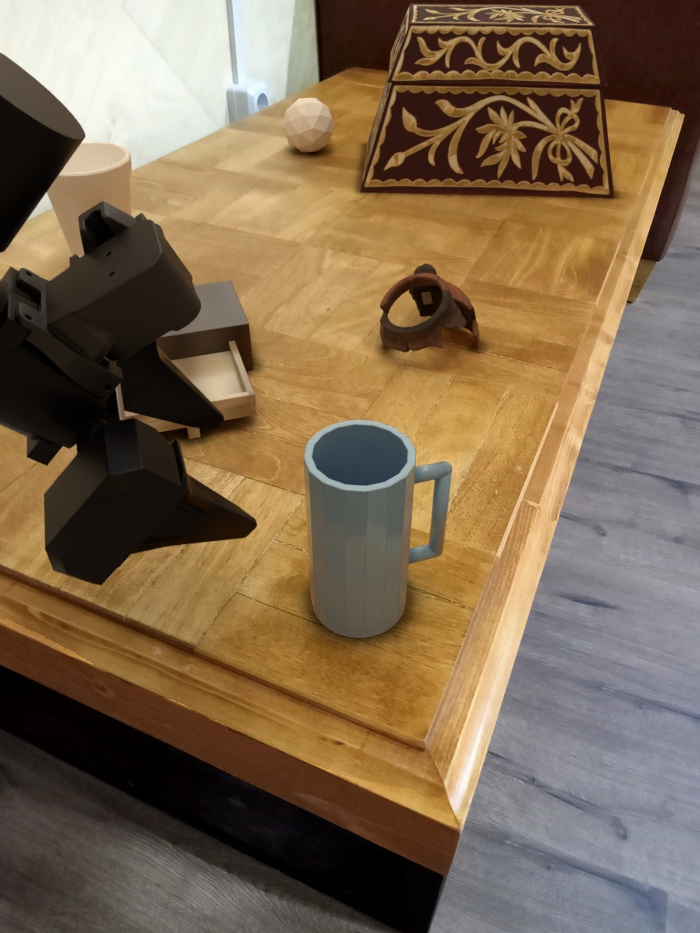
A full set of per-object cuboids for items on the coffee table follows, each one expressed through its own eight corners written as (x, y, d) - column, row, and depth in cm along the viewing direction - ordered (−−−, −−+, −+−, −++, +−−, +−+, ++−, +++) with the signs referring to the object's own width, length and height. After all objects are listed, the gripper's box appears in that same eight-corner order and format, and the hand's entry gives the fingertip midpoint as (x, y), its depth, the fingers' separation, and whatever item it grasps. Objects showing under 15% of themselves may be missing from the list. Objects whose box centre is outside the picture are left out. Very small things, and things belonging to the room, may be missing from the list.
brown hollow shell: (495, 368, 75) (469, 315, 69) (406, 402, 78) (372, 354, 72) (471, 283, 82) (445, 228, 76) (390, 317, 85) (358, 266, 79)
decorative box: (360, 191, 108) (361, 28, 95) (366, 145, 123) (368, -2, 110) (614, 197, 107) (651, 32, 93) (589, 149, 121) (618, 1, 108)
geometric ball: (323, 167, 123) (352, 128, 118) (285, 160, 118) (314, 119, 112) (303, 131, 125) (331, 91, 120) (265, 122, 120) (292, 80, 114)
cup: (167, 273, 90) (148, 158, 81) (87, 301, 85) (58, 182, 76) (124, 245, 95) (102, 135, 87) (47, 270, 90) (16, 155, 82)
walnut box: (111, 454, 65) (98, 405, 62) (98, 344, 78) (87, 300, 75) (274, 423, 68) (271, 376, 65) (235, 323, 81) (231, 279, 78)
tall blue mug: (326, 648, 50) (321, 501, 41) (301, 576, 54) (292, 430, 46) (457, 615, 52) (477, 468, 43) (422, 548, 57) (434, 403, 48)
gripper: (62, 286, 24) (392, 482, 33) (52, 110, 37) (288, 285, 47) (-116, 524, 27) (230, 639, 37) (-66, 283, 41) (177, 414, 50)
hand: (234, 472), depth 43 cm, fingers open, 9 cm apart
